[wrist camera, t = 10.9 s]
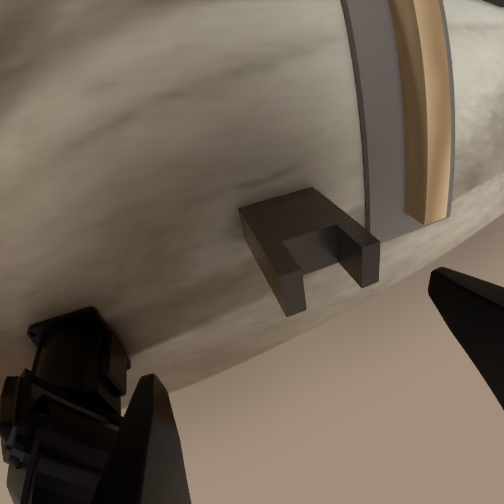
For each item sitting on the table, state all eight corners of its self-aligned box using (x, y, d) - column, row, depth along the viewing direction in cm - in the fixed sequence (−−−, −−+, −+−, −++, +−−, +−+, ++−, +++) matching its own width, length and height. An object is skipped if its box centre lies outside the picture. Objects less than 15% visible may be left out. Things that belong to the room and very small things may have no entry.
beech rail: (404, 212, 23) (424, 225, 21) (360, -96, 10) (380, -107, 8) (426, 204, 23) (445, 217, 21) (387, -89, 10) (408, -98, 8)
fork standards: (246, 241, 21) (286, 317, 15) (170, -81, 9) (182, -153, 3) (316, 219, 22) (378, 281, 15) (256, -89, 10) (307, -150, 4)
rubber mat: (366, 243, 24) (370, 246, 23) (305, -118, 9) (308, -122, 8) (445, 214, 25) (449, 216, 24) (408, -94, 10) (412, -96, 9)
